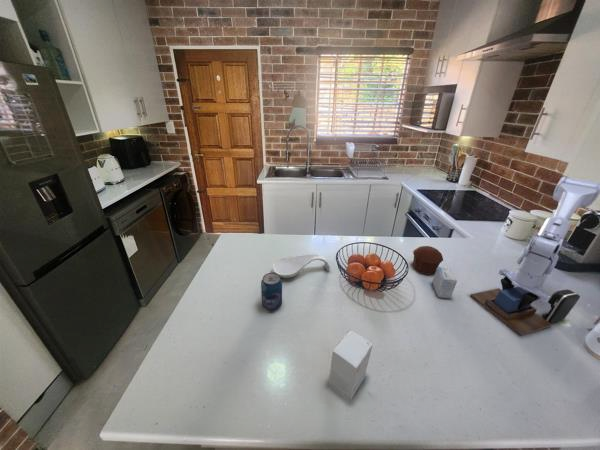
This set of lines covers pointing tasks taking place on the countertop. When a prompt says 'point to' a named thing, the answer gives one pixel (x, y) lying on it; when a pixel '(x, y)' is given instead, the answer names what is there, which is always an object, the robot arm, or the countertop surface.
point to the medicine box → (444, 282)
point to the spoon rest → (296, 264)
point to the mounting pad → (512, 314)
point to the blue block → (510, 299)
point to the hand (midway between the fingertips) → (512, 302)
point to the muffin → (426, 259)
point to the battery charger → (561, 305)
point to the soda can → (271, 292)
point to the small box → (349, 364)
